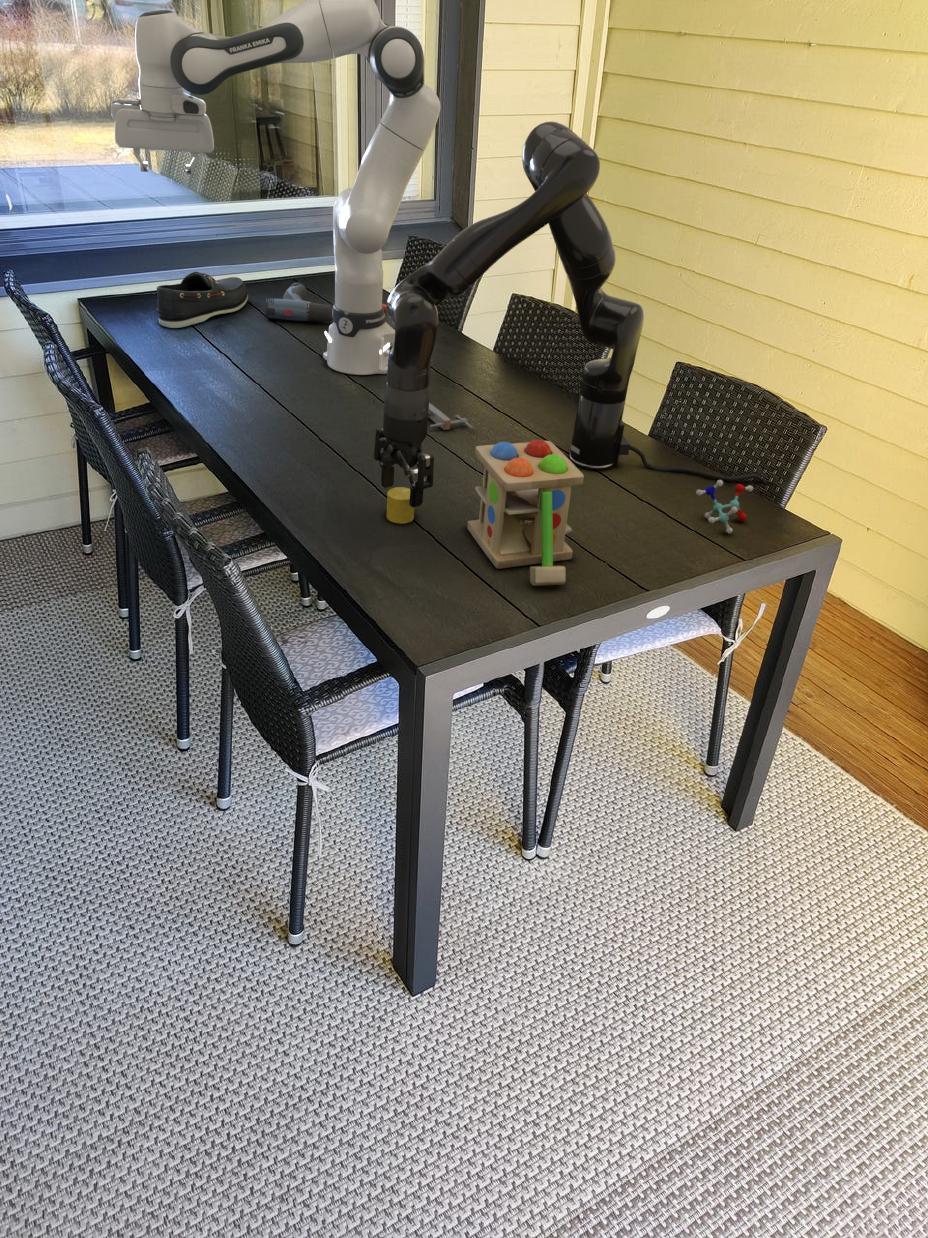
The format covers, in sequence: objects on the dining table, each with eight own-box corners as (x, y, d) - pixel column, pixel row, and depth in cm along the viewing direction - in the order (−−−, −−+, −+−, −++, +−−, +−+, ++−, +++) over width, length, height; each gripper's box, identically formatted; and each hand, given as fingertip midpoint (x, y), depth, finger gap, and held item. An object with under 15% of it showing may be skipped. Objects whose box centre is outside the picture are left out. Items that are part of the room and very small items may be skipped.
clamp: (402, 403, 214) (442, 397, 219) (402, 412, 215) (442, 407, 220) (435, 430, 204) (476, 423, 208) (434, 439, 205) (475, 433, 209)
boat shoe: (266, 306, 270) (264, 267, 265) (176, 330, 246) (172, 288, 241) (231, 297, 276) (229, 259, 270) (140, 320, 252) (135, 279, 246)
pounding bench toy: (594, 585, 162) (612, 488, 152) (515, 596, 157) (528, 496, 147) (538, 519, 179) (551, 428, 169) (466, 527, 175) (475, 434, 165)
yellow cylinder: (404, 526, 174) (406, 502, 171) (381, 518, 175) (382, 494, 173) (418, 515, 177) (420, 492, 175) (395, 508, 179) (396, 484, 176)
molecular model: (759, 527, 176) (743, 474, 175) (707, 542, 180) (691, 490, 179) (762, 518, 187) (747, 467, 185) (712, 532, 190) (698, 483, 189)
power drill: (344, 304, 276) (335, 327, 259) (277, 298, 275) (264, 321, 258) (344, 285, 273) (335, 306, 256) (277, 279, 272) (264, 300, 255)
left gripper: (107, 98, 199) (115, 172, 207) (211, 106, 203) (215, 178, 211) (111, 94, 204) (118, 166, 212) (212, 102, 208) (215, 172, 216)
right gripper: (363, 398, 167) (361, 484, 176) (413, 428, 158) (407, 517, 167) (399, 391, 171) (395, 475, 180) (449, 420, 162) (442, 507, 171)
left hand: (167, 172), depth 211 cm, fingers open, 8 cm apart
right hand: (401, 496), depth 174 cm, fingers open, 8 cm apart
